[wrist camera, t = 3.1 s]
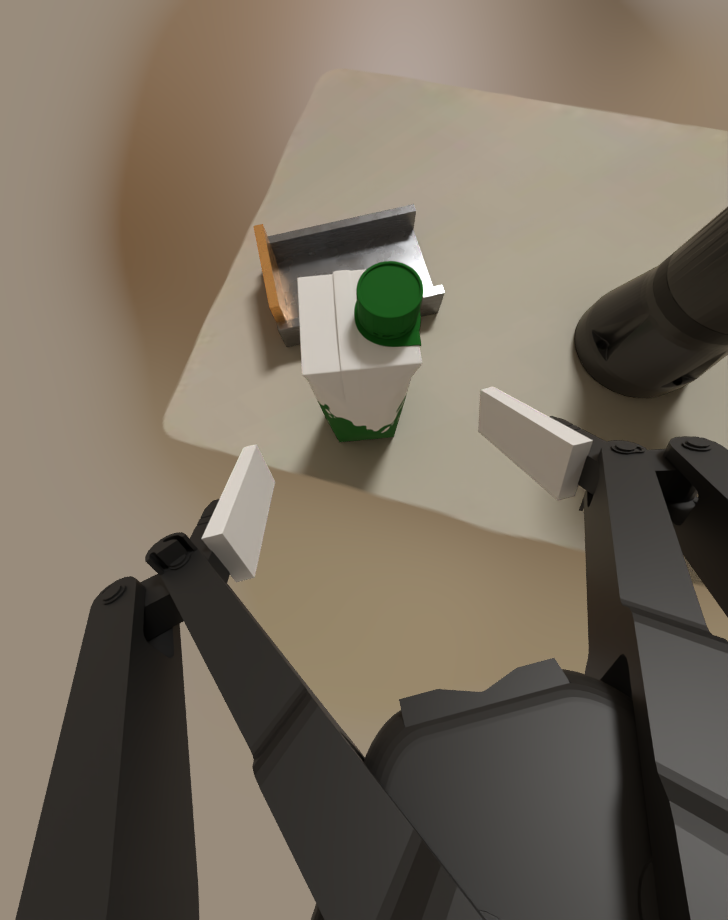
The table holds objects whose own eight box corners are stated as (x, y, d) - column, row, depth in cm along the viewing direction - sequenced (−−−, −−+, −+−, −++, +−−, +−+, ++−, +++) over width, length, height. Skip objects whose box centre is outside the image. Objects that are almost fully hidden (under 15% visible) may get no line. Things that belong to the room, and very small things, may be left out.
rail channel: (410, 230, 41) (416, 182, 35) (438, 312, 38) (450, 275, 32) (269, 261, 41) (252, 218, 35) (286, 347, 38) (271, 316, 32)
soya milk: (401, 443, 34) (440, 351, 15) (331, 449, 35) (279, 367, 15) (393, 380, 36) (420, 224, 17) (327, 387, 36) (275, 239, 17)
